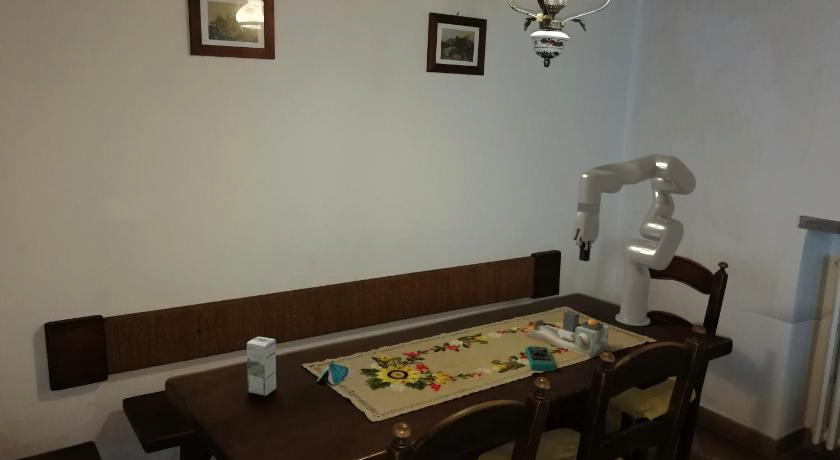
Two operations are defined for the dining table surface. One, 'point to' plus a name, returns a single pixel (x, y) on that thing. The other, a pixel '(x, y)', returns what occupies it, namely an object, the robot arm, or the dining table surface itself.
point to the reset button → (592, 322)
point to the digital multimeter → (540, 358)
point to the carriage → (569, 325)
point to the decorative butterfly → (337, 373)
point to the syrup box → (261, 365)
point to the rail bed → (557, 341)
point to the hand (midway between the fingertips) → (584, 260)
